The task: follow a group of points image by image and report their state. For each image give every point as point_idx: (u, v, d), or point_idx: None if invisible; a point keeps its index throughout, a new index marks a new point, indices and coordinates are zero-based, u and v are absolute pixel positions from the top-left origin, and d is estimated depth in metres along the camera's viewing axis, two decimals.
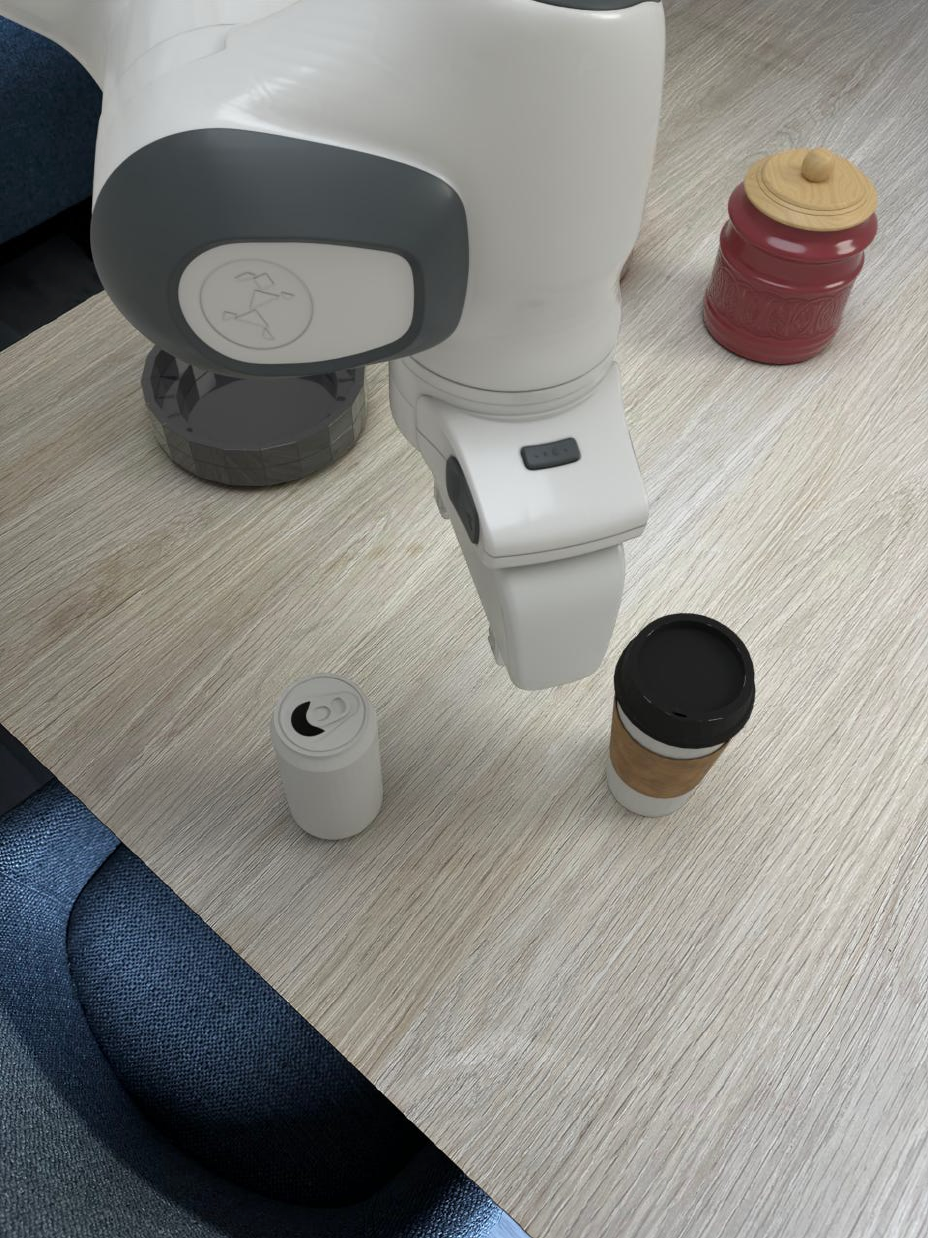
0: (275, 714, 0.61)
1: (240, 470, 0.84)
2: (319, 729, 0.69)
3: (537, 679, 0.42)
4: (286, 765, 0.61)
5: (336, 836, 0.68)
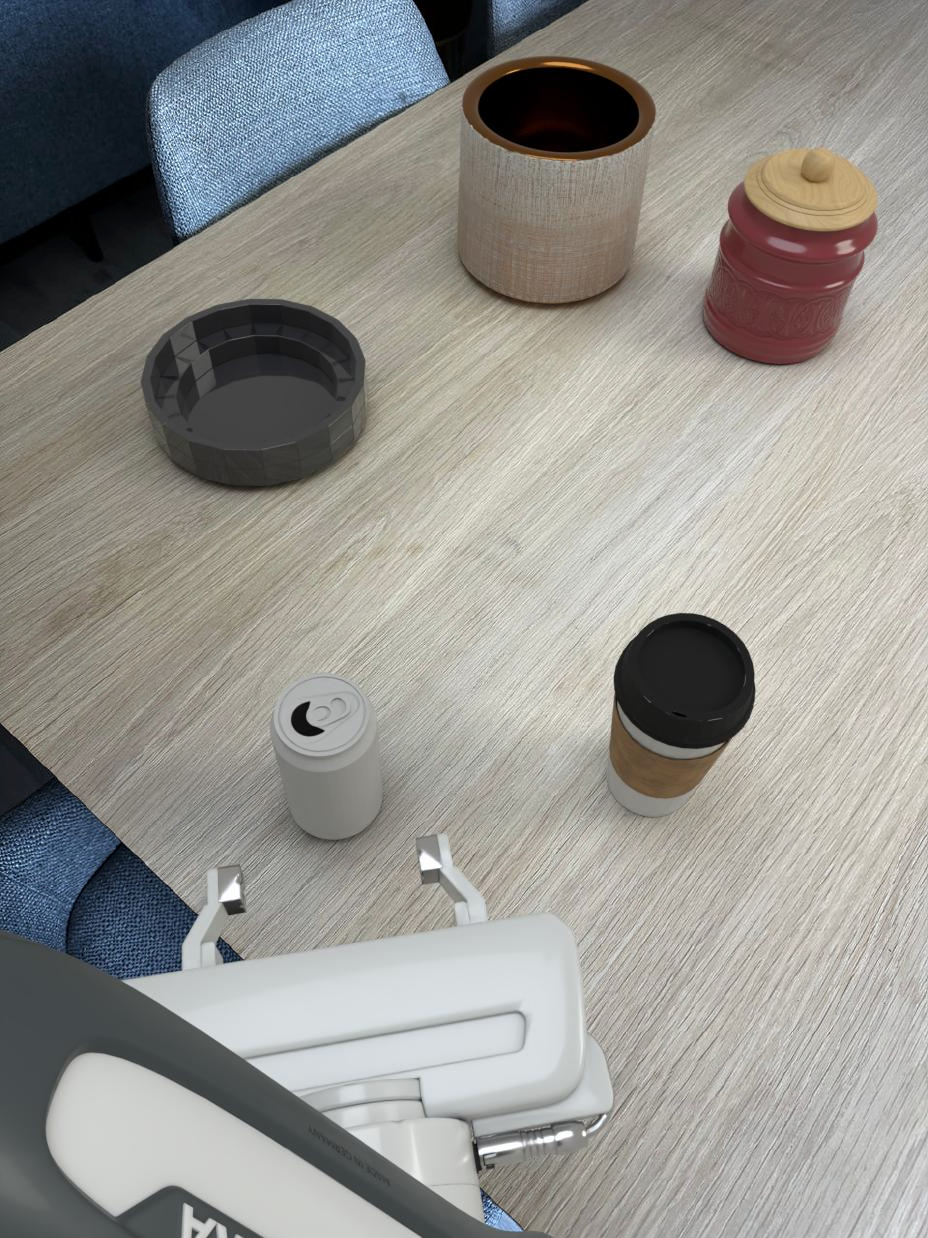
0: (275, 714, 0.61)
1: (240, 470, 0.84)
2: (319, 729, 0.69)
3: None
4: (286, 765, 0.61)
5: (336, 836, 0.68)
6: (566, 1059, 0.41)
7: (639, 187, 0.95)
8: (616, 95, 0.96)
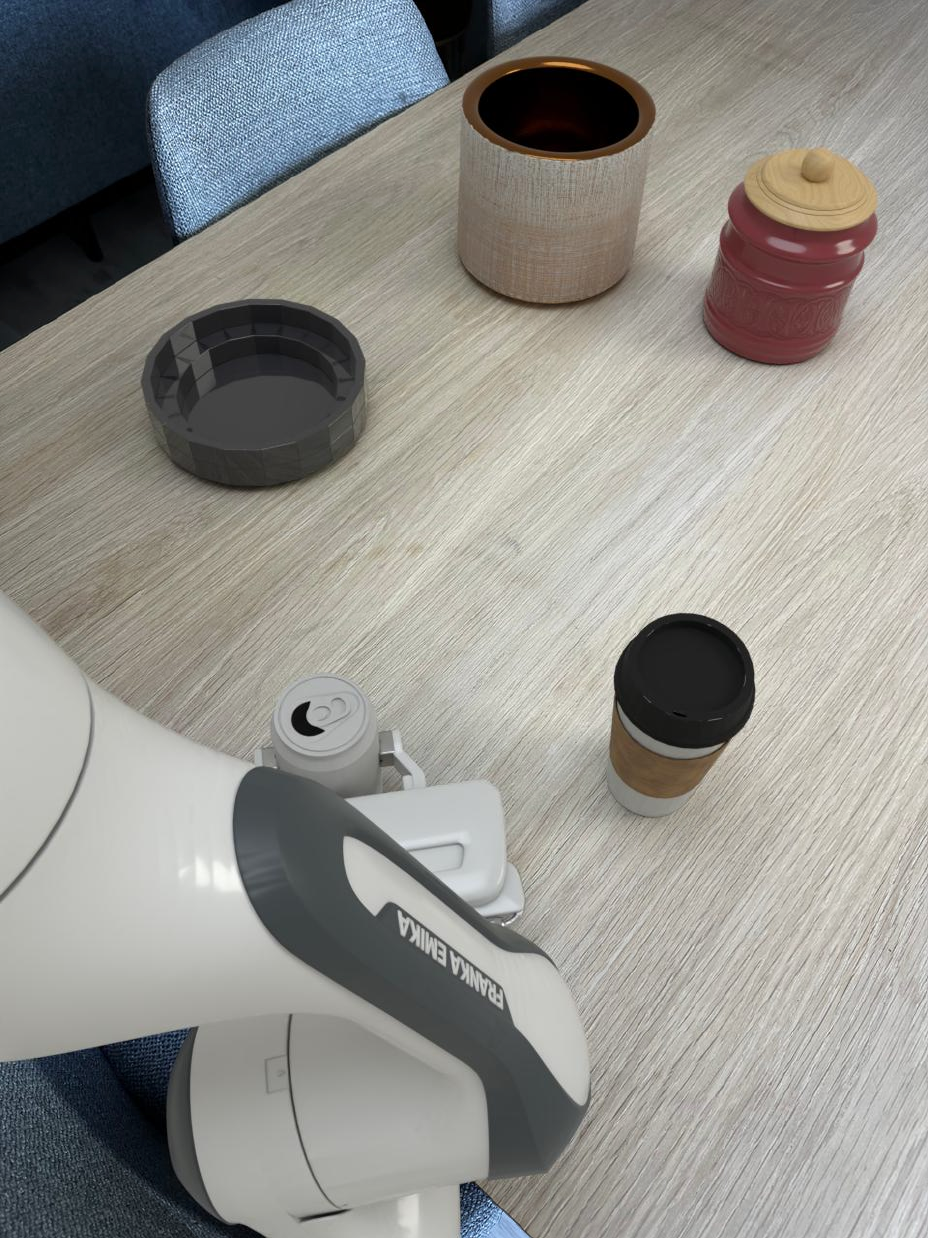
0: (275, 714, 0.61)
1: (240, 470, 0.84)
2: (319, 729, 0.69)
3: None
4: (286, 765, 0.61)
5: None
6: (491, 873, 0.59)
7: (639, 187, 0.95)
8: (616, 95, 0.96)
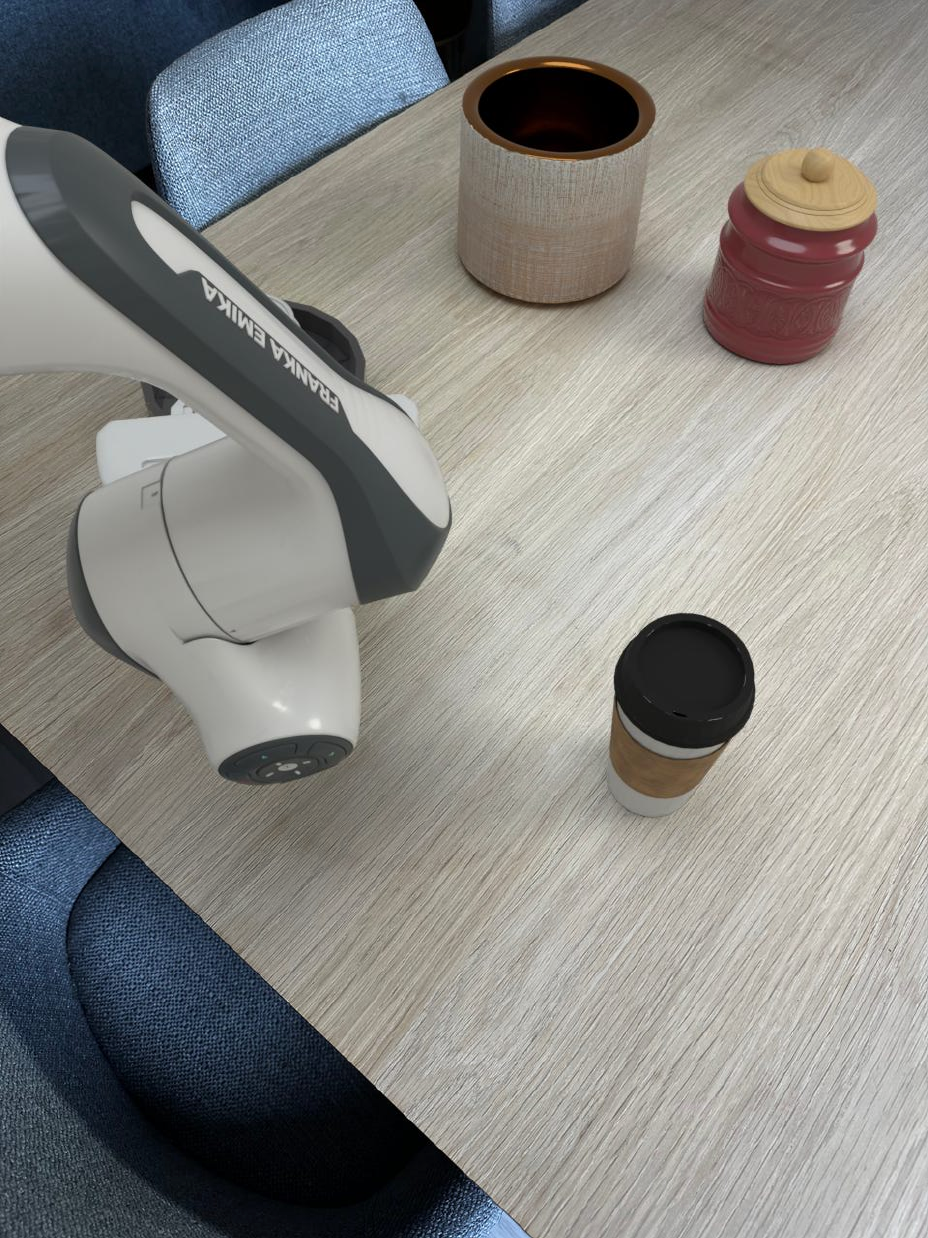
0: None
1: None
2: None
3: None
4: None
5: None
6: None
7: (639, 187, 0.95)
8: (616, 95, 0.96)
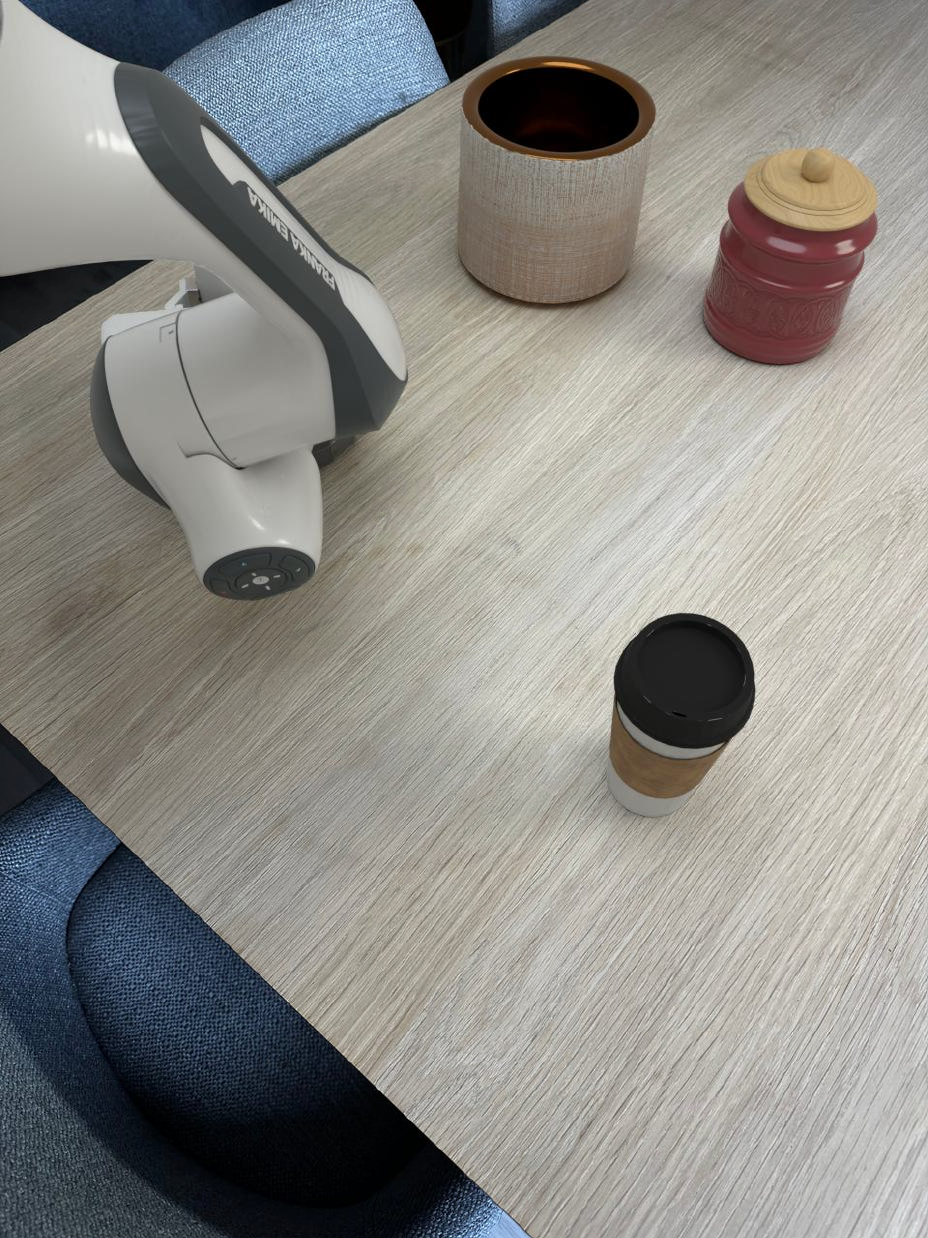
0: None
1: None
2: None
3: None
4: (202, 270, 0.76)
5: None
6: None
7: (639, 187, 0.95)
8: (616, 95, 0.96)
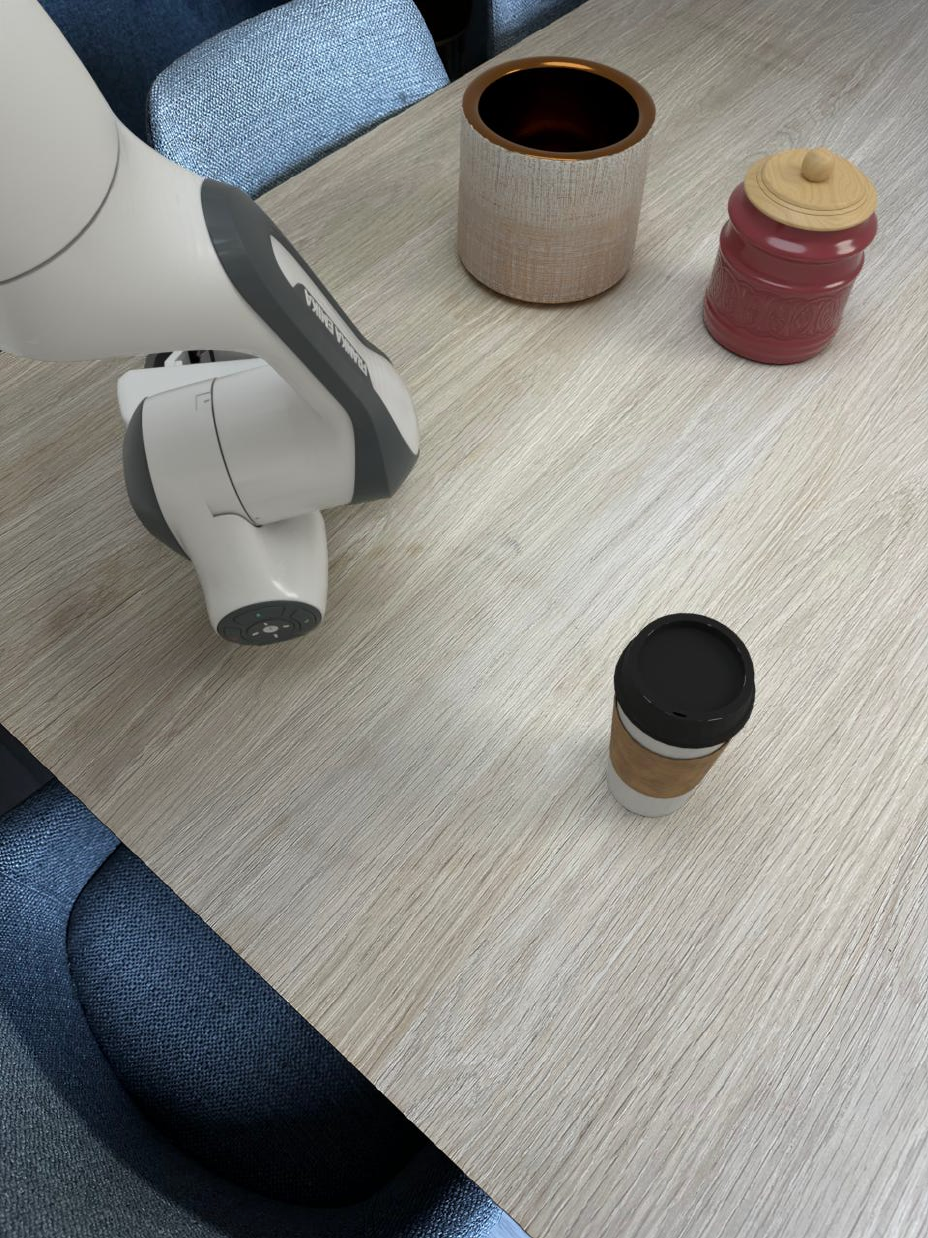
0: None
1: None
2: None
3: None
4: None
5: None
6: None
7: (639, 187, 0.95)
8: (616, 95, 0.96)
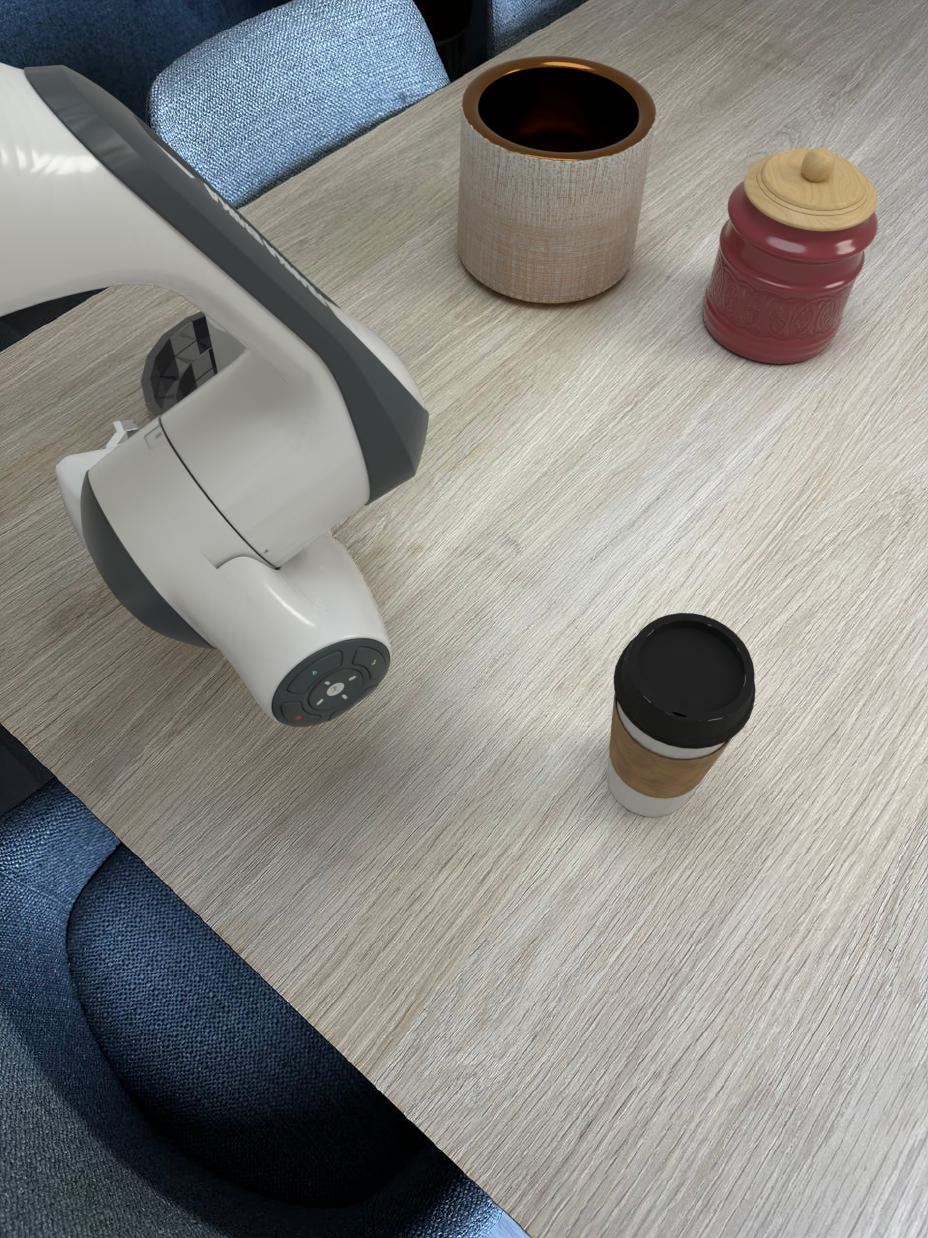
0: None
1: None
2: None
3: (58, 479, 0.66)
4: (216, 334, 0.81)
5: None
6: None
7: (639, 187, 0.95)
8: (616, 95, 0.96)
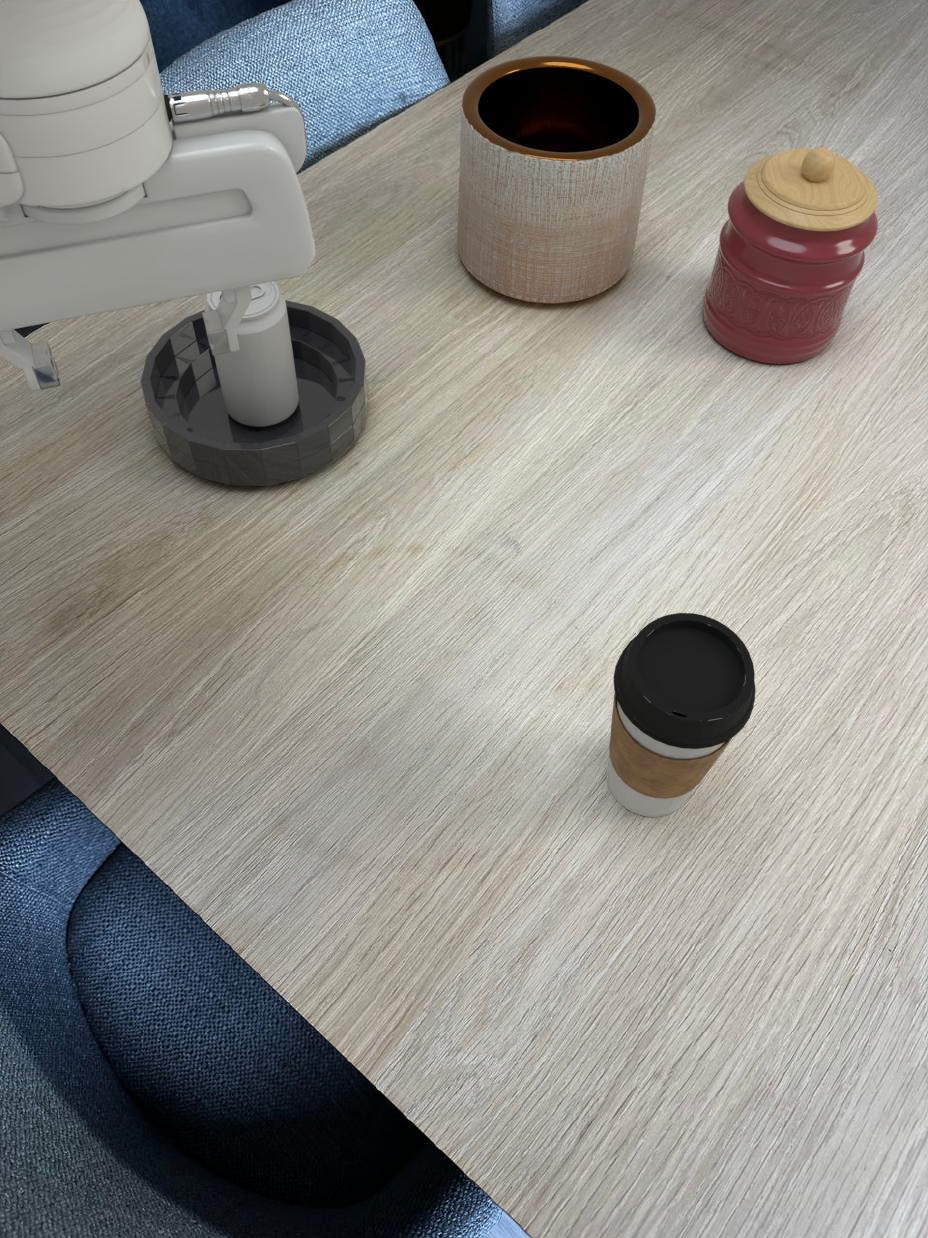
0: (208, 294, 0.81)
1: (240, 470, 0.84)
2: None
3: None
4: None
5: (260, 421, 0.88)
6: None
7: (639, 187, 0.95)
8: (616, 95, 0.96)
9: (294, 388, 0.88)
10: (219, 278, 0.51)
